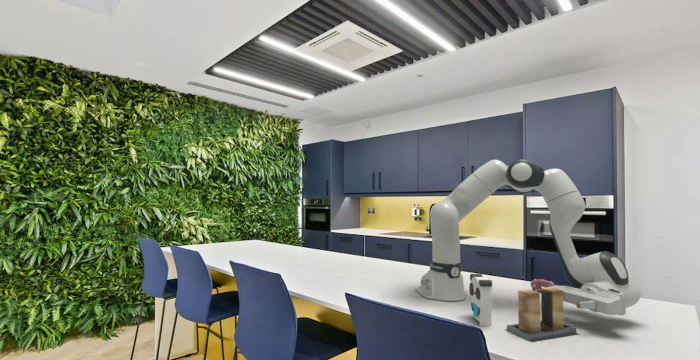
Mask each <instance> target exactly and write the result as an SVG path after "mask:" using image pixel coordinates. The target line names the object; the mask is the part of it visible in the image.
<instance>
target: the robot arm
mask: <svg viewBox="0 0 700 360" xmlns="http://www.w3.org/2000/svg"><path fill="white" fill-rule="evenodd" d="M503 186H506V187H508V188H510V189H512V190H513V191H515V192H518V193H522V194H526V193H527V194H528V193H530V192H533V191H534V190H535V191H537V192H539V194H540V195H541V196H542V198H543V200H544V201H545V203H546V206H547V207H548V210H549V215H550V217H549V218H550V220H549V222H548V226H549V230H550V233H551V237H552V239H553V242H554V244H555V248H556V250H557V253H558V255H559V258H560V261H561V264H562V269H563V270H562V271H563V274H564V278H565V279H566V281H567V282H568V283H569V284H570V285H572V286H569V285H555V286H550V287H553V288H557V289H560V290H563V303H568V304H571V305H574V306H576V307H577V308H578V309H582V310H584V309H586V310H587V309H588V310H589V311H591V312H594V313H601V314H605V315H609V316H625V315H626V313H627V311H626V310H627V309H628V308H631V307H633V306H635V305H636V304H638V302H639V301H640V299H641V290H640V288H639V286H638V285H637V284H636V283H635V282H633V280H631V279H630V278H629V274H628V270H627V267H626V265H625V263H624V262H623V260H622V259H621V258H619V257H618V256H617V255H616V254H614V253H612V252H609V251H605V250H603V251H600V252H595V253H593V254H590V255H587V256H583V257H579V256H578V254H577V251H576V247H575V245H574V242H573V240H572V237H571V230H572V228H573V227H574V226H575V225H576V223H577V222H578V221H580V219H581V218H582V216H583V215H584V213H585V209H586V203H585V200H584V198H583V196H582V195H581V192H580V191H579V189H578V188H577V187H576V184H575V183H574V182H573V181H572V179H571V178H570V176H568V174H567V173H565V171H564V170H562V168H561V169H560V168H549V169H546V170H544V168H543V167H541V166H540V165H538V164H536V163H534V162H533V161H531V160H528V159H522V158H521V159H516V160H514V161H512V162H511V163H510V164H509V165H506V163H504V162H503V161H501V160H499V159H491V160H489V161H488V162H486V163H484V164H483V165H481V166H480V167H478V168H477V169H475V170H474V172H473V173H471V174H470V175H469V176H467V177H466V178H465V179H464V180H463V181H462V182H461V183H459V185H457V186H456V188H455V189H453V191H452V192H450V194H448V195H447V196H446V197H445V199H443V200H442V201H439V202H437V203H435V204H433V206H432V207H431V208H430V212H429V220H430V221H429V222H430V223H429V225H430V232H431V233H430V234H431V241H432V243H431V244H432V260H431V261H430V262H429V265H430V266H429V270H428V271H427V272H426V273H425V274H423V275H422V276H421V278H420V285H419V286H416V287H415V291H416V292H418V294H420V295H422V296H423V297H424V298H426V299H429V300H438V301H445V302H457V301H462V300H465V299H466V296H467V292H466V291H465V286H464V276H463V275H462V273H461V272H462V262H461V241H460V229H459V227H460V226H459V223H460V222H461V221H462V220H463V219H464V218H465V217H467V216H468V215H469V214H470V213H471V212H472V211H474V210H475V209H476V208H477V207H478V206H479V205H480V204H482V203H483V202H484V201H485V200H486V199H487V198H489V197H490V196H491V195H493V194H494V193H495V192H496V191H497V190H499V188H501V187H503ZM573 286H574V287H573Z"/></svg>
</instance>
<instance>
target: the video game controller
mask: <svg viewBox="0 0 700 360" xmlns="http://www.w3.org/2000/svg"><path fill="white" fill-rule="evenodd" d="M530 286H531V290H533V291H536V292H539V293H541V288H546V287H550V286H556V284H555V283H554V282H553V281H550V280H547V279H543V278H539V279H536V278H534V279H533V280H531V282H530Z"/></svg>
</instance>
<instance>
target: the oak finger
mask: <svg viewBox="0 0 700 360" xmlns="http://www.w3.org/2000/svg"><path fill="white" fill-rule="evenodd" d="M540 309H541V321H542V329H545V330H547V331H548V330H555V329H561V328H564V319H565V318H564V301H563V290H560V289H557V288H553V287H546V288H545V287H542V288H541V292H540Z"/></svg>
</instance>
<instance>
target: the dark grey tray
mask: <svg viewBox="0 0 700 360" xmlns="http://www.w3.org/2000/svg"><path fill="white" fill-rule="evenodd" d="M540 322H541V332H535V333H526V332H524V331H522V330H520V329H519V323H514V324H508V325H506V328H505V329H504V331H507V332H508V333H510V334H513V335H516V336H517V337H519V338H521V339H524V340H526V341H528V342H530V343H537V342H543V341H549V340H554V339H555V340H556V339H561V338H566V337H573V336H580V333H578V332H577V327H576V326H572V325H570V324H568V323H564V328H561V329H555V330H548V331H547V330H545V329H542V320H540Z"/></svg>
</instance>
